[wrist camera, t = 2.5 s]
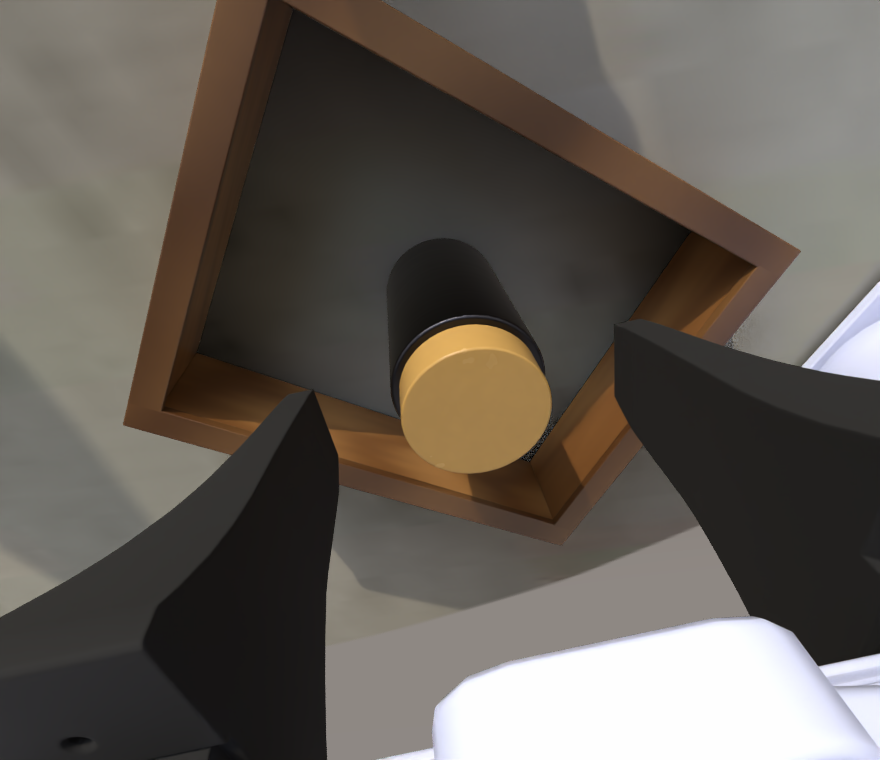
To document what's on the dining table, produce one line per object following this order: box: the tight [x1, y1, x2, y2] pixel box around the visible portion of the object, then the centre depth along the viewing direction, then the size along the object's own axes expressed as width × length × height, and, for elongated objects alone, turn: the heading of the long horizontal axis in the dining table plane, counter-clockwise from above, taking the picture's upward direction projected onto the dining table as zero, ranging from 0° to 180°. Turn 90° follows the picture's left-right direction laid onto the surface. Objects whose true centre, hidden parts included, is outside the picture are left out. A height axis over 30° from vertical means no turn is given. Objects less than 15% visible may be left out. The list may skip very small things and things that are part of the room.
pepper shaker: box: [387, 239, 552, 474], centre depth 14 cm, size 4×4×8 cm
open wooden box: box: [123, 0, 801, 545], centre depth 16 cm, size 16×13×4 cm
